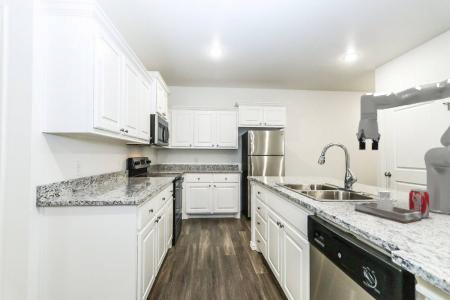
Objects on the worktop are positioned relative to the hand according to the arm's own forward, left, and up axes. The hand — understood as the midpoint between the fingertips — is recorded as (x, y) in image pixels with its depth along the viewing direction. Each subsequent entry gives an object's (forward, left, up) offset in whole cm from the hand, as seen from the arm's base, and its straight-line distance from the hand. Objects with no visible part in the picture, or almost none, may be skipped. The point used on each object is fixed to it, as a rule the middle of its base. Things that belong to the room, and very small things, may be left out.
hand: (368, 149), depth 121 cm
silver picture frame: (+7, +13, -30) cm, 34 cm away
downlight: (+7, +13, -30) cm, 33 cm away
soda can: (-5, +20, -31) cm, 37 cm away
